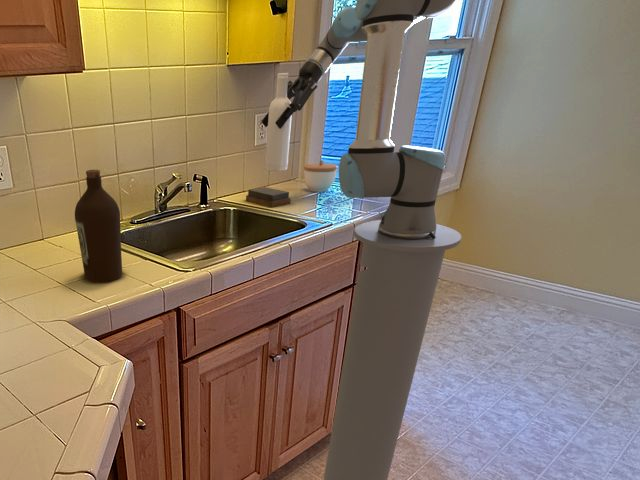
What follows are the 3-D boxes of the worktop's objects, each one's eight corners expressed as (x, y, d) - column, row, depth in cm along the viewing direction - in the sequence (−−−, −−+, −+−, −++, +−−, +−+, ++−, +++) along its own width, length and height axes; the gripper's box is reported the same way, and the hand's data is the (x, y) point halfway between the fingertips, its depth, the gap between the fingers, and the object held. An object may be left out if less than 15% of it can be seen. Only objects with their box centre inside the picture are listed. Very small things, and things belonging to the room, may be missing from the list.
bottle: (280, 166, 184) (287, 72, 169) (291, 169, 177) (300, 72, 162) (260, 168, 181) (266, 73, 167) (271, 171, 175) (278, 73, 160)
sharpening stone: (290, 203, 182) (291, 192, 180) (271, 207, 178) (272, 195, 176) (263, 197, 193) (264, 186, 191) (245, 200, 189) (246, 189, 187)
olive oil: (120, 266, 130) (112, 165, 118) (128, 280, 122) (120, 172, 109) (80, 271, 128) (66, 169, 116) (85, 286, 119) (71, 176, 107)
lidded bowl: (329, 185, 205) (332, 157, 200) (339, 192, 194) (343, 162, 189) (298, 187, 205) (301, 158, 200) (306, 193, 194) (309, 163, 189)
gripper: (340, 76, 162) (294, 135, 165) (301, 77, 178) (260, 130, 181) (329, 58, 157) (282, 118, 160) (290, 60, 174) (248, 115, 177)
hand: (270, 125), depth 171 cm, fingers closed on bottle, 8 cm apart
